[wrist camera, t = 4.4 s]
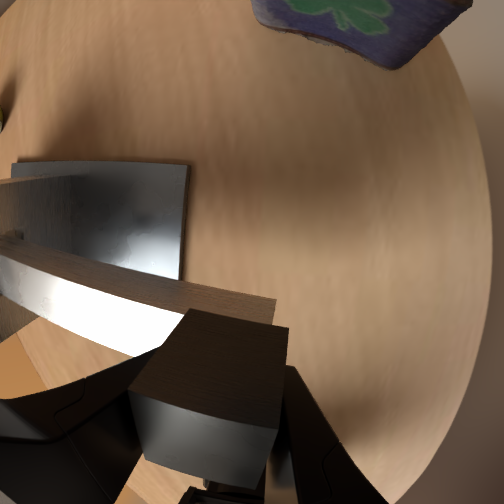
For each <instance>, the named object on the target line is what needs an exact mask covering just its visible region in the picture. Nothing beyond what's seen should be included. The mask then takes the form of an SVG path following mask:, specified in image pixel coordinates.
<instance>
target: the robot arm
mask: <svg viewBox="0 0 504 504" xmlns="http://www.w3.org/2000/svg"><path fill="white" fill-rule="evenodd" d="M160 346H161V345H160ZM160 346H158V347H156V348H153V349H151V350H149V351H147V352H144V353H142V354H140V355H137V356H135V357H133V358H130V359H128V360H126V361H123V362H121V363H119V364H116V365H114V366H112V367H109V368H107V369H104V370H102V371H100V372H97V373H95V374H92V375H90V376H87V377H86V379H85V378H82V379H79V380H77V381H74V382H72V383H69V384H66V385H63V386H60V387H57V388H53V389H50V390H46V391H43V392H39V393H35V394H31V395H26V396H22V397H18V398H13V399H0V504H114V503H115V501H116V500H117V498H118V496H119V494H120V492H121V491H122V489H123V487H124V485H125V483H126V482H127V480H128V478H129V476H130V475H131V473H132V471H133V469H134V467H135V466H136V464H137V462H138V460H139V458H140V457H141V455H142V453H143V451H142V447H141V444H140V440H139V437H138V433H137V429H136V425H135V421H134V417H133V413H132V409H131V404H130V400H129V395H128V390H127V389H128V388H129V386H130V385H131V384H132V382H133V381H134V380H135V378H136V377H137V376H138V374H139V373H140V372H141V370H142V369H143V368H144V367H145V365H146V364H147V363H148V361H149V360H150V359H151V357H152V356H153V355H154V354H155V352H156V351H157V350H158V348H159V347H160ZM203 486H204V487H205V488H207V489H206V490H201V489H197V487H193V486H190V487H189V488H188V490H187V492H185V493H184V495H183V496H182V498H181V500H180V502H179V503H178V504H389V503H388V502H387V501H386V500H385V499H384V498H383V497H382V495H381V494H380V493H379V492H378V491H377V490H376V489H375V488H374V486H373V485H372V484H371V483H370V482H369V481H368V479H367V478H366V477H365V476H364V475H363V473H362V472H361V471H360V470H359V468H358V467H357V466H356V465H355V463H354V462H353V460H352V459H351V457H350V456H349V454H348V453H347V451H346V450H345V448H344V447H343V445H342V443H341V442H339V439H338V437H337V435H336V434H335V432H334V431H333V429H332V427H331V426H330V424H329V422H328V421H327V419H326V417H325V416H324V414H323V413H322V411H321V409H320V408H319V406H318V404H317V403H316V401H315V399H314V398H313V396H312V394H311V393H310V391H309V389H308V388H307V386H306V384H305V383H304V381H303V379H302V378H301V376H300V374H299V373H298V371H297V369H296V368H295V367H294V366H290V365H286V368H285V378H284V388H283V397H282V406H281V414H280V423H279V430H278V433H277V436H276V438H275V441H274V444H273V447H272V449H271V452H270V454H269V457H268V460H267V462H266V465H265V467H264V470H263V472H262V475H261V477H260V480H259V482H258V484H257V487H256V489H255V490H254V489H248V488H243V487H238V486H233V485H228V484H223V483H219V482H215V481H211V480H207V479H203Z"/></svg>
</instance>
